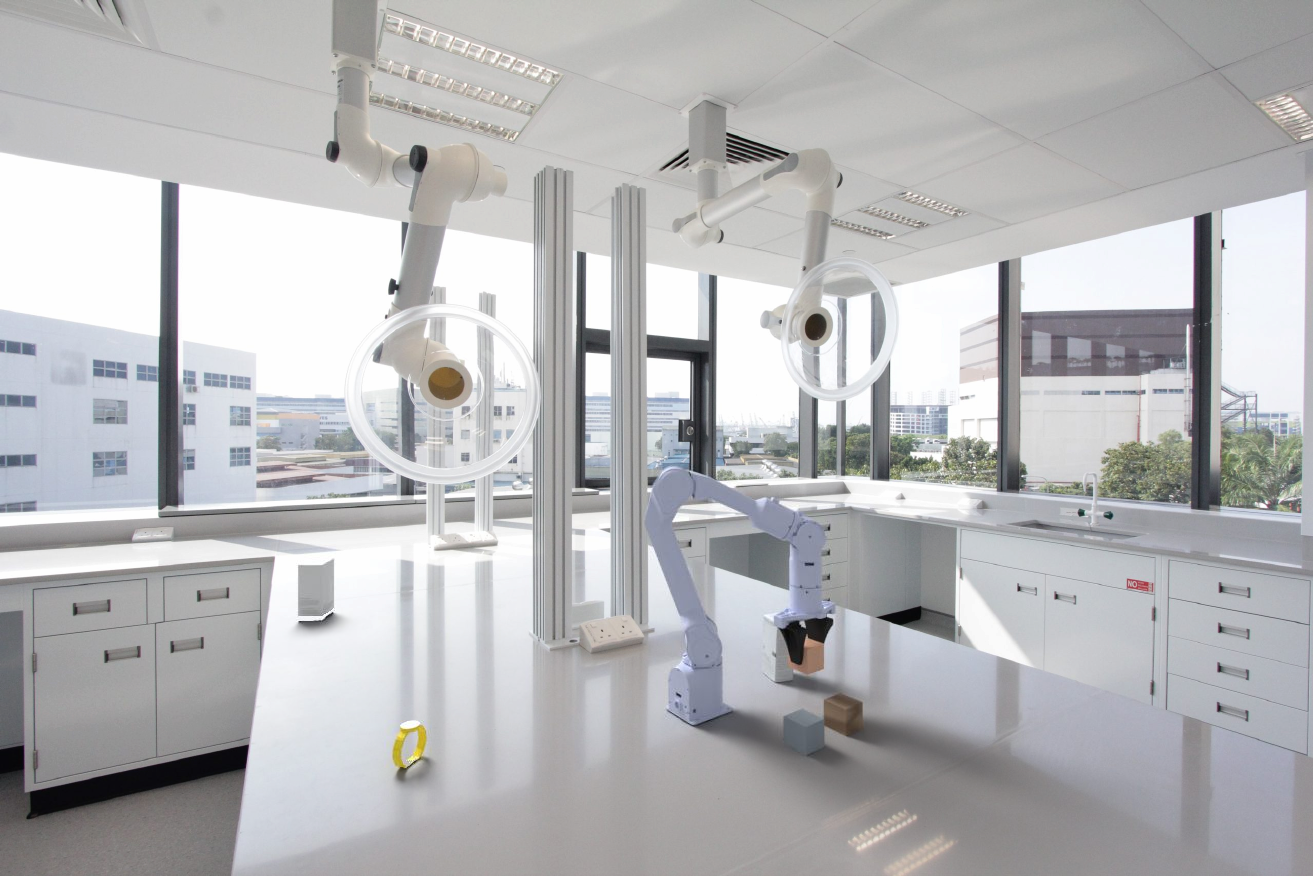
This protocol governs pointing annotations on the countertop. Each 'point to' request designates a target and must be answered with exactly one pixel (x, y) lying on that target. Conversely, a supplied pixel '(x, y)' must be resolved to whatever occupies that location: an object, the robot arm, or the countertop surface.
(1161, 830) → the countertop surface
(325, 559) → the skincare box
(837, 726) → the walnut block
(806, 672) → the terracotta block
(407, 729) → the watch
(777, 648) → the skincare box
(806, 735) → the slate block
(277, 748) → the countertop surface
